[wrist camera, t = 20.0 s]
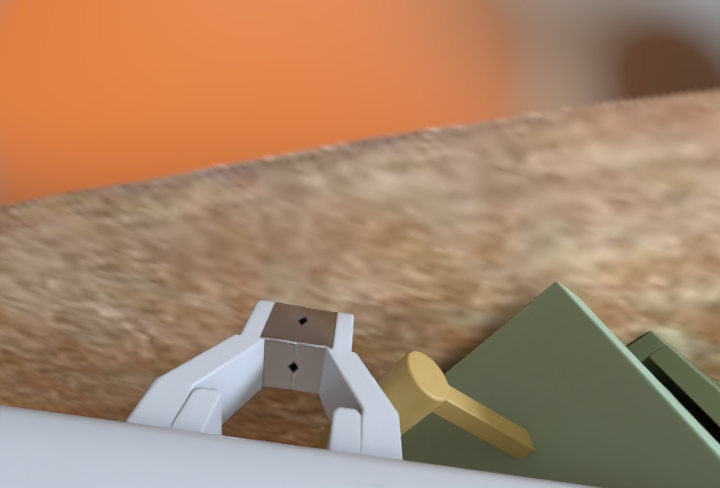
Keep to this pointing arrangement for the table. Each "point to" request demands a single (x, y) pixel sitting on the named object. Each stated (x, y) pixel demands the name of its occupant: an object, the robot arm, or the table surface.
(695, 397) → the cabinet
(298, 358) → the robot arm
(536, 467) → the drawer
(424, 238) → the table surface
